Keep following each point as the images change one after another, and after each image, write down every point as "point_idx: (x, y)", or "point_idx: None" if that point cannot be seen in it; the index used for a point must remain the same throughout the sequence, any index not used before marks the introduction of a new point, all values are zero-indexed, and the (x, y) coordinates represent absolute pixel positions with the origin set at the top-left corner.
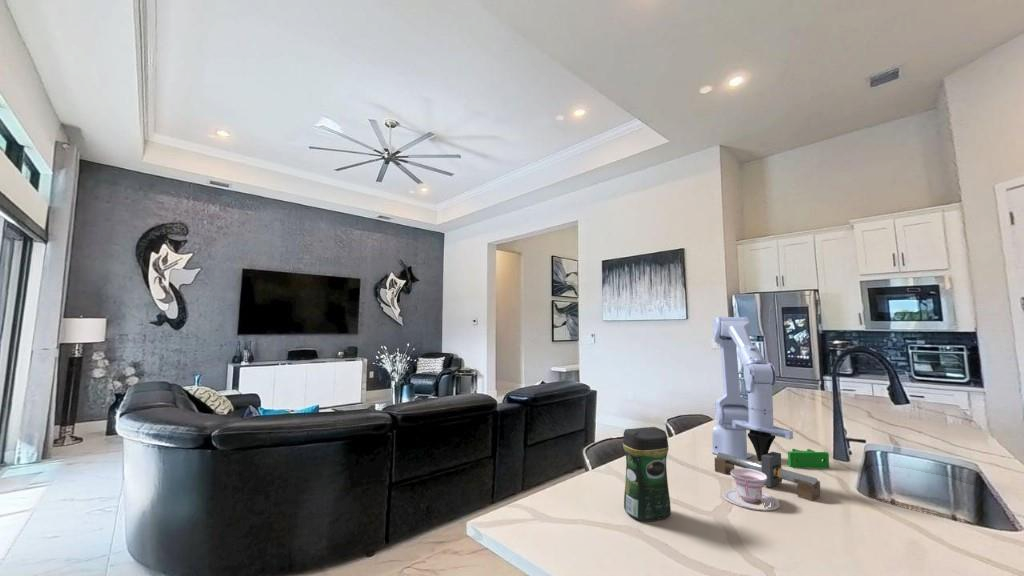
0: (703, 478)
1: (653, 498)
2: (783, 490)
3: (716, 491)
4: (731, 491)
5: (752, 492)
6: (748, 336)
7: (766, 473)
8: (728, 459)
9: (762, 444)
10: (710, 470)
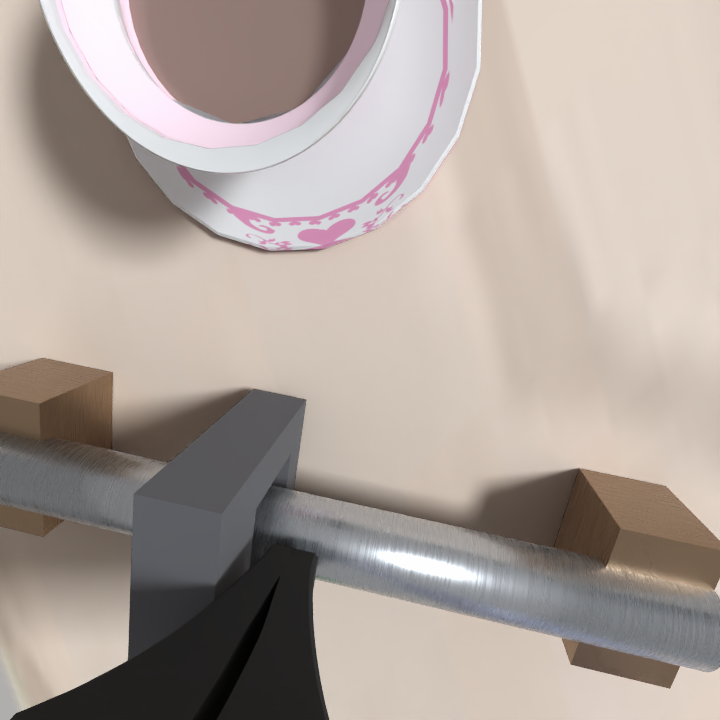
0: (708, 248)
1: None
2: (201, 422)
3: (536, 16)
4: (437, 108)
5: None
6: None
7: (244, 427)
8: (598, 570)
9: (156, 669)
10: (699, 476)
